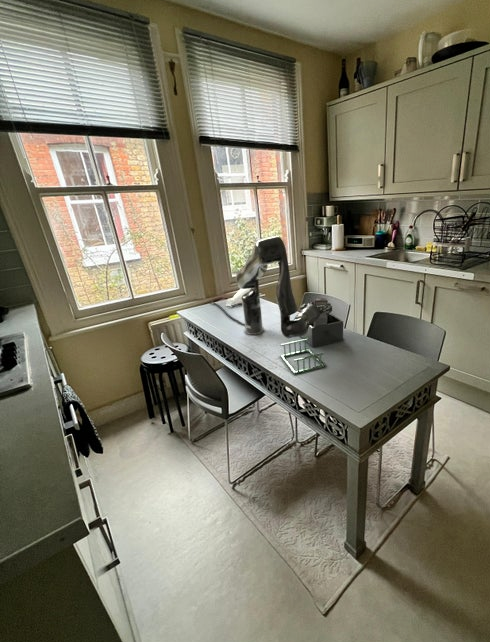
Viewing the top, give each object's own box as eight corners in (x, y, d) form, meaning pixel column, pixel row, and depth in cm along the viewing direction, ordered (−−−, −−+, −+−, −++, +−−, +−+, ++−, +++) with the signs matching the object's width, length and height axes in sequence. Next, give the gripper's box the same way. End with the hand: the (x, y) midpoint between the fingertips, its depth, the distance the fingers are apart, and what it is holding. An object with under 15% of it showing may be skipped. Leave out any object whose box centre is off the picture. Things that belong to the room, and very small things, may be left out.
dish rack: (280, 357, 142) (279, 344, 139) (309, 350, 146) (308, 338, 144) (294, 374, 128) (293, 360, 125) (325, 366, 132) (325, 353, 130)
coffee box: (312, 329, 162) (313, 298, 158) (325, 329, 162) (325, 297, 158) (314, 333, 153) (314, 300, 149) (327, 333, 153) (328, 300, 149)
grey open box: (299, 334, 163) (298, 316, 159) (327, 328, 169) (327, 311, 165) (312, 347, 149) (311, 327, 145) (343, 340, 155) (343, 321, 151)
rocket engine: (222, 294, 205) (245, 282, 213) (220, 301, 215) (242, 290, 223) (232, 308, 204) (254, 296, 212) (229, 315, 214) (251, 303, 222)
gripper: (324, 308, 136) (335, 297, 150) (294, 305, 141) (307, 295, 155) (324, 324, 139) (335, 312, 152) (294, 321, 144) (307, 310, 158)
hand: (321, 304), depth 154 cm, fingers closed on coffee box, 8 cm apart
